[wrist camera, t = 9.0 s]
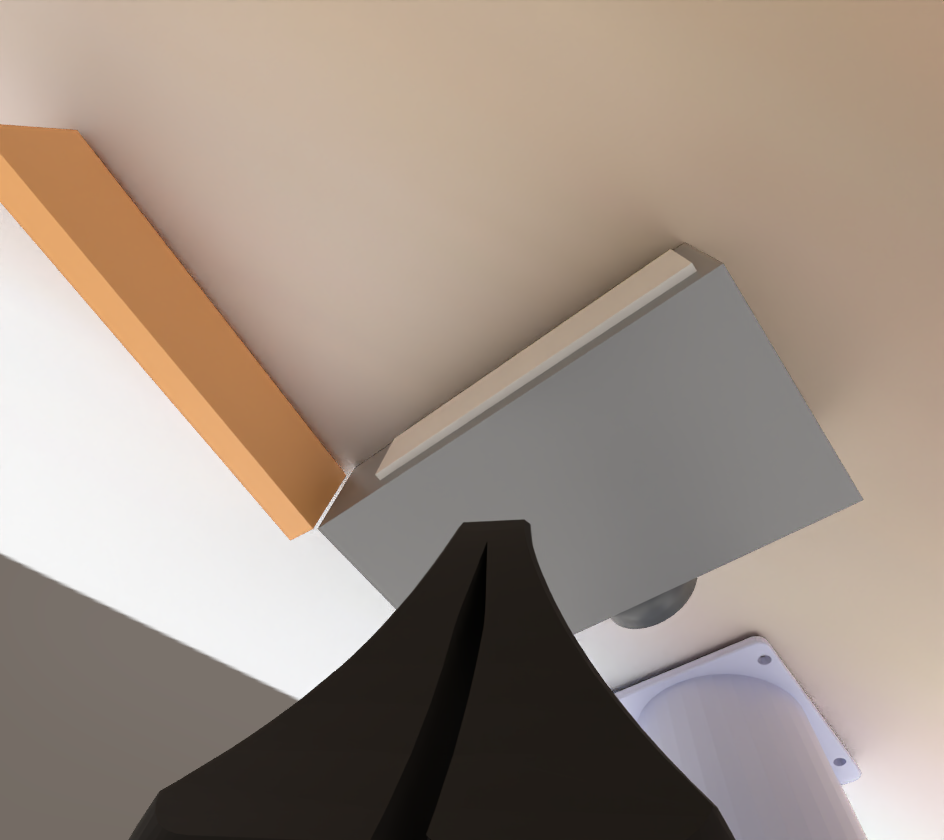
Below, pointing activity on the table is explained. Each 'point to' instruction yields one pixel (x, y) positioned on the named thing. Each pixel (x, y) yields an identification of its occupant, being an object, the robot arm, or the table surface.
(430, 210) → the table surface
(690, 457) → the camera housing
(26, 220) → the orange piece
